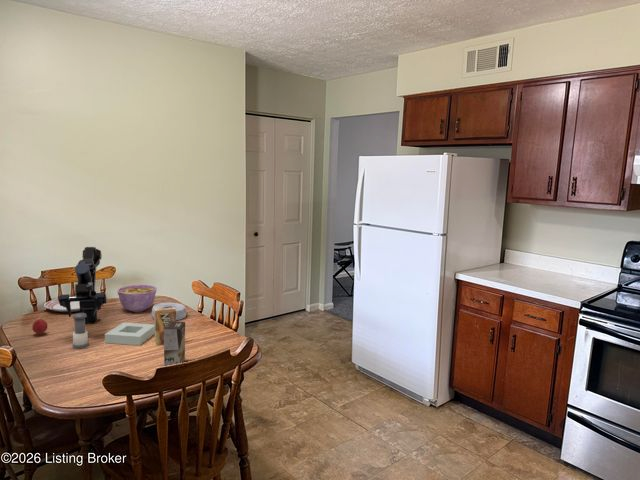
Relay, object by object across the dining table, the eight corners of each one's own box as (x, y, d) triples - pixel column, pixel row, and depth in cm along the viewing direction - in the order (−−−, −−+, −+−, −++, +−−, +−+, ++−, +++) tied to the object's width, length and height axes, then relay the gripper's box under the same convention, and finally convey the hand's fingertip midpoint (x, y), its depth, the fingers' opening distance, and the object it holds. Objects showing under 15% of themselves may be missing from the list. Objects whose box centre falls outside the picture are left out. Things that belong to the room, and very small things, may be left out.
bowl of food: (123, 304, 251) (122, 284, 249) (159, 304, 254) (159, 284, 253) (113, 315, 231) (112, 294, 230) (153, 315, 235) (153, 294, 233)
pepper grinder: (78, 342, 194) (77, 312, 192) (91, 343, 193) (90, 313, 191) (69, 348, 188) (68, 316, 186) (83, 349, 187) (82, 317, 185)
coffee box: (180, 368, 173) (180, 329, 171) (163, 368, 173) (163, 328, 170) (185, 358, 182) (185, 321, 180) (169, 358, 182) (169, 321, 179)
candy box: (175, 339, 203) (174, 307, 201) (176, 342, 199) (176, 309, 197) (154, 341, 199) (154, 308, 197) (155, 344, 195) (155, 311, 193)
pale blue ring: (153, 312, 240) (153, 301, 239) (186, 311, 245) (186, 300, 244) (150, 323, 223) (150, 311, 222) (186, 321, 228) (186, 310, 227)
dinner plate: (50, 302, 250) (50, 296, 250) (103, 299, 260) (103, 293, 259) (38, 317, 225) (38, 310, 224) (98, 313, 235) (98, 307, 234)
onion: (40, 337, 198) (39, 320, 197) (29, 336, 199) (28, 319, 198) (50, 333, 203) (49, 316, 202) (40, 331, 204) (39, 315, 203)
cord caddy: (123, 330, 211) (123, 322, 210) (155, 332, 210) (155, 324, 209) (104, 342, 195) (104, 334, 194) (139, 345, 194) (139, 336, 193)
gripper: (58, 277, 193) (53, 308, 184) (105, 275, 200) (103, 305, 191) (62, 290, 201) (58, 320, 193) (107, 288, 208) (105, 317, 199)
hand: (81, 316), depth 194 cm, fingers open, 9 cm apart
